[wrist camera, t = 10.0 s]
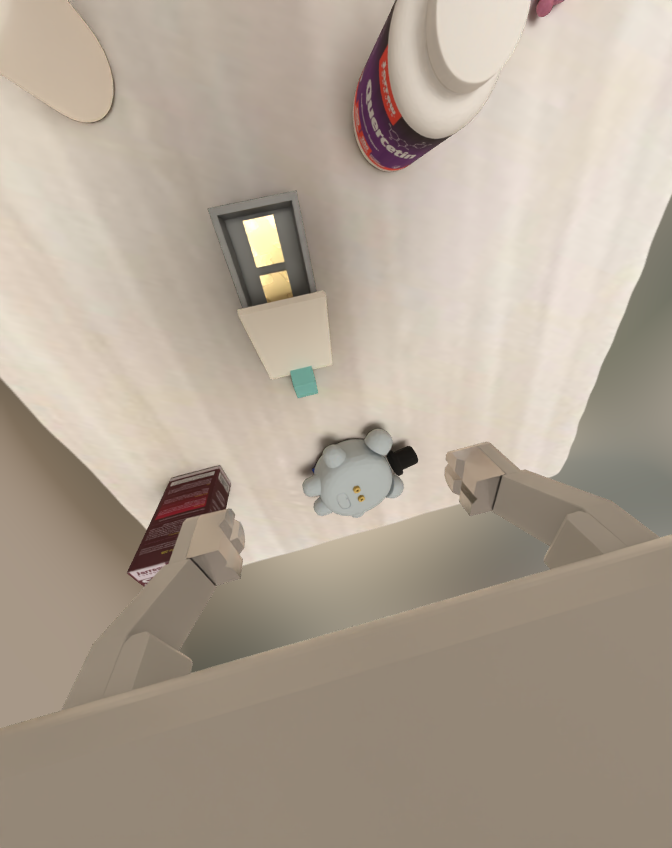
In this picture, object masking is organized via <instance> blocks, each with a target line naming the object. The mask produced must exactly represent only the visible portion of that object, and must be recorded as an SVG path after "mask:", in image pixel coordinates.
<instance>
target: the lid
mask: <svg viewBox="0 0 672 848" xmlns="http://www.w3.org/2000/svg"><path fill="white" fill-rule="evenodd" d="M237 311H238V316H239V318H240V320H241V322H242V324H243V326H244V328H245V330H246V332H247V334H248V336H249V338H250V340H251V342H252V344H253V346H254V348H255V350H256V351H257V353H258V355H259V357H260V359H261V361H262V363H263V365H264V367H265V369H266V371H267V373H268V375H269V377H270V379H271V380H272V379H276V378H281V377H285V376H289V375H291V378H292V382H293V387H294V389H295V392H296V395H297V397H298V398H301V397H305V396H309V395H313V394H317V393H318V390H317V385H316V381H315V377H314V373H313V370H314V369H318V368H322V367H327V366H331V365H333V364H332V353H331V343H330V332H329V322H328V311H327V301H326V294H325V291H324V290H323V291H319V292H314V293H310V294H305V295H301V296H296V297H292V298H288V299H283V300H279V301H274V302H270V303H265V304H261V305H256V306H252V307H247V308H243V309H238V310H237Z"/></svg>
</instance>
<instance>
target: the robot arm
mask: <svg viewBox="0 0 672 848" xmlns="http://www.w3.org/2000/svg"><path fill="white" fill-rule="evenodd" d="M446 461H447V462H448V465H447V466H446V467H445V474H444V475H445V479H446V482H447V484H448V486H449V488H450V489H451V491H452V492H453V493H455V494H457V495H459V496H460V498H459V502H460V503H461V504H462V506H463V507H464V509H465V510H466V511H467V513H468V514H469V516H472V515H476V514H481V513H485V512H489V511H493V512H494V513H495V514H497V515H499V516H500V517H502V518H503V519H505V520H507V521H508V522H510V523H512V524H514V525H515V526H517V527H518V528H520V529H522V530H523V531H525V532H527V533H528V534H530V535H532V536H533V537H535V538H537V539H538V540H540V541H542V542H543V543H545V544H547V545H548V546H550V547H549V549H548V551H547V553H546V555H545V557H544V563H545V564H546V565H547V566H548V567H549V569H550V570H546V571H543V572H539V573H536V574H532V575H529V576H526V577H522V578H519V579H515V580H512V581H508V582H505V583H501V584H498V585H494V586H491V587H487V588H484V589H481V590H477V591H474V592H470V593H467V594H463V595H460V596H456V597H453V598H449V599H446V600H442V601H439V602H435V603H432V604H428V605H425V606H421V607H418V608H415V609H411V610H408V611H404V612H401V613H398V614H394V615H390V616H387V617H383V618H380V619H376V620H373V621H370V622H366V623H363V624H359V625H356V626H352V627H349V628H345V629H342V630H339V631H335V632H332V633H328V634H324V635H321V636H318V637H314V638H311V639H308V640H304V641H301V642H297V643H293V644H290V645H287V646H283V647H279V648H276V649H272V650H269V651H266V652H263V653H259V654H255V655H252V656H248V657H245V658H241V659H238V660H235V661H231V662H227V663H224V664H221V665H217V666H214V667H210V668H207V669H203V670H200V671H196V672H193V673H191V669H192V663H193V662H192V661H191V659H190V658H188V657H187V656H186V655H184V654H182V653H181V652H179V650H180V648H181V646H182V645H183V643H184V641H185V640H186V638H187V636H188V635H189V633H190V631H191V630H192V628H193V626H194V624H195V623H196V621H197V619H198V618H199V616H200V614H201V612H202V611H203V609H204V607H205V606H206V604H207V602H208V600H209V599H210V597H211V596H212V594H213V592H214V591H215V589H216V586H217V585H221V584H224V583H227V582H230V581H234V580H237V579H240V578H241V571H242V563H243V559H242V558H241V556H240V555H239V554H240V553H241V551H242V550H243V549H244V545H245V535H244V530H243V527H242V525H241V523H240V522H239V521H237V520H234V518H235V514H234V512H233V511H232V509H225V510H221V511H216V512H212V513H208V514H203V515H200V516H196V517H192V518H187V519H186V520H185V521H184V522H183V524H182V527H181V530H180V533H179V536H178V538H177V541H176V544H175V547H174V550H173V552H172V555H171V558H170V561H169V564H167V565H164V566H163V567H162V568H161V569H160V570H159V571H158V572H157V574H156V575H155V576H154V577H153V578H152V579H151V580H150V581H149V582H148V584H147V585H146V586H145V587H144V588H143V589H142V590H141V591H140V593H139V594H138V595H137V596H136V597H135V598H134V599H133V600H132V601H131V602H130V604H129V605H128V606H127V607H126V608H125V609H124V610H123V611H122V612H121V614H120V615H119V616H118V617H117V618H116V619H115V620H114V621H113V622H112V623H111V625H110V626H109V627H108V628H107V629H106V630H105V631H104V632H103V633H102V635H101V636H100V637H99V638H98V639H97V640H96V641H95V642H94V644H92V647H91V649H90V651H89V653H88V655H87V657H86V659H85V661H84V664H83V666H82V668H81V670H80V672H79V674H78V676H77V678H76V681H75V682H74V685H73V687H72V689H71V691H70V693H69V695H68V697H67V699H66V701H65V704H64V706H63V708H62V710H61V711H58V712H54V713H51V714H48V715H44V716H41V717H37V718H34V719H30V720H27V721H23V722H20V723H17V724H13V725H9V726H6V727H2V728H0V848H672V534H671V535H668V536H664V537H661V538H660V537H659V536H657V535H656V534H655V533H653V532H652V531H651V530H649V529H648V528H647V527H645V526H644V525H643V524H641V523H640V522H639V521H637V520H636V519H635V518H633V517H632V516H631V515H629V514H628V513H627V512H626V511H624V510H623V509H622V508H620V507H619V506H618V505H616V504H615V503H614V502H612V501H610V500H607V499H605V498H602V497H599V496H596V495H594V494H591V493H588V492H585V491H582V490H580V489H577V488H574V487H571V486H569V485H566V484H563V483H560V482H558V481H555V480H552V479H550V478H547V477H544V476H541V475H538V474H536V473H533V472H530V471H527V470H520V469H519V468H518V467H516V466H515V465H514V464H513V463H512V462H511V461H510V460H509V459H508V458H506V457H505V456H504V455H503V454H502V453H501V452H500V451H499V450H498V449H496V448H495V447H494V446H493V445H492V444H491V443H489V442H483V443H479V444H476V445H473V446H468V447H464V448H460V449H457V450H453V451H449V452H448V453H447V454H446Z"/></svg>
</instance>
